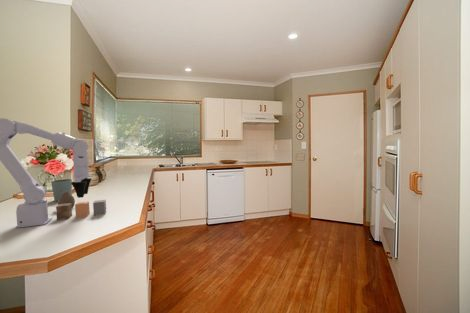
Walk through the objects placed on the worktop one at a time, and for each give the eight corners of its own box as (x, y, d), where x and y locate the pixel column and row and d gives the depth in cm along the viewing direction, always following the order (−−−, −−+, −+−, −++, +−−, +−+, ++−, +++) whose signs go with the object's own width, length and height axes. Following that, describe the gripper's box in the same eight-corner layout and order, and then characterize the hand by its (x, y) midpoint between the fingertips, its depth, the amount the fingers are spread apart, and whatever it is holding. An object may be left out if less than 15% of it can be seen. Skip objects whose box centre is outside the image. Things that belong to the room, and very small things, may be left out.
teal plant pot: (64, 201, 134) (63, 181, 134) (47, 201, 134) (46, 181, 134) (76, 197, 144) (75, 178, 144) (61, 197, 144) (60, 179, 144)
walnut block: (56, 220, 100) (56, 206, 100) (60, 217, 105) (59, 204, 104) (69, 218, 102) (68, 205, 102) (72, 215, 106) (71, 203, 106)
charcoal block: (93, 215, 106) (93, 202, 105) (95, 213, 110) (94, 200, 109) (104, 214, 107) (104, 201, 107) (106, 211, 111) (105, 199, 111)
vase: (55, 210, 116) (54, 193, 115) (69, 206, 122) (68, 190, 122) (64, 211, 113) (63, 194, 113) (78, 207, 120) (77, 191, 119)
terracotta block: (75, 217, 103) (75, 204, 103) (78, 215, 107) (77, 202, 107) (87, 216, 105) (86, 203, 104) (89, 213, 109) (88, 201, 108)
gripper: (87, 167, 99) (89, 198, 100) (94, 164, 113) (95, 191, 114) (68, 168, 97) (70, 199, 97) (77, 165, 110) (79, 193, 111)
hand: (82, 195), depth 105 cm, fingers open, 7 cm apart
